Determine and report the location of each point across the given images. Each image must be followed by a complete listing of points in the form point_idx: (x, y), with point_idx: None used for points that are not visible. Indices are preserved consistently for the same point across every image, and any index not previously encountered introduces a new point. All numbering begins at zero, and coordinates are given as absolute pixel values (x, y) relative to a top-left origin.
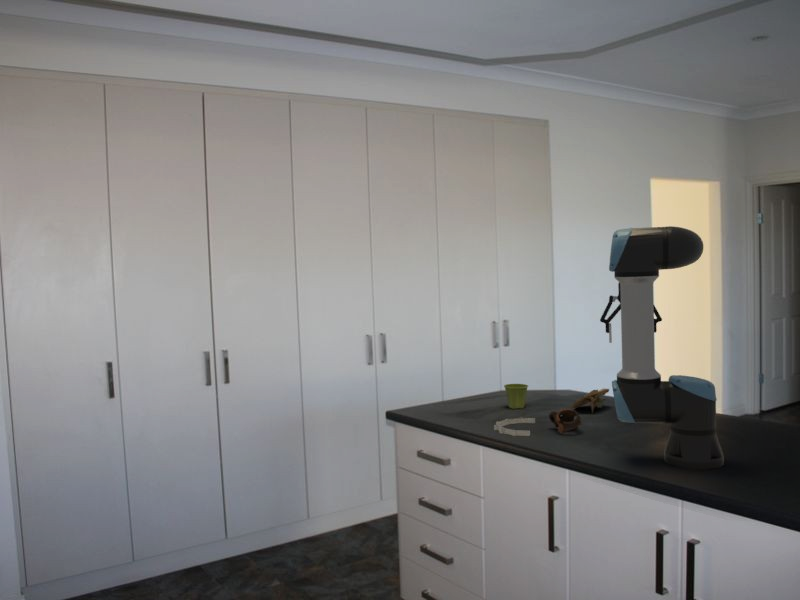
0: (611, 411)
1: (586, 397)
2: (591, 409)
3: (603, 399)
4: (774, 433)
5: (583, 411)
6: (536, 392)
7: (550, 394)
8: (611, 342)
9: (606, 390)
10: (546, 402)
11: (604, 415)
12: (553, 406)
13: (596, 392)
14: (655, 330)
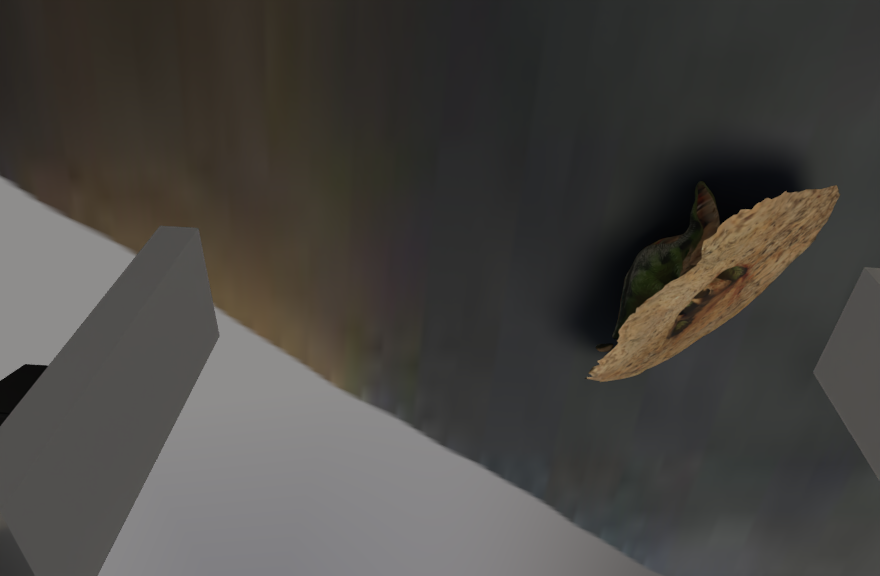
0: (579, 237)
1: (749, 261)
2: (710, 192)
3: (609, 347)
4: None
5: None
6: (840, 567)
7: (789, 538)
8: (868, 271)
9: (600, 379)
10: None
11: (639, 139)
12: None
13: (685, 300)
14: (7, 395)
